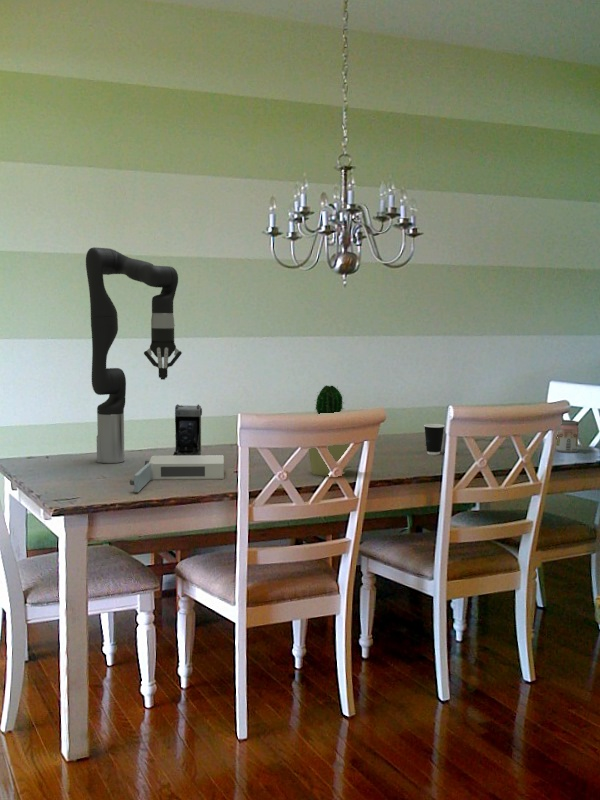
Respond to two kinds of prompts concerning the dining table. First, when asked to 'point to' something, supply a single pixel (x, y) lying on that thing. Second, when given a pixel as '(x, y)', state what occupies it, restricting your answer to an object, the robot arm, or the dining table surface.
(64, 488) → the dining table surface
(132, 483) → the side door
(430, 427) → the dixie cup
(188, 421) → the vintage camera
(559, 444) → the house shaped jar
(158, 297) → the robot arm
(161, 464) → the white flat box
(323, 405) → the potted cactus
